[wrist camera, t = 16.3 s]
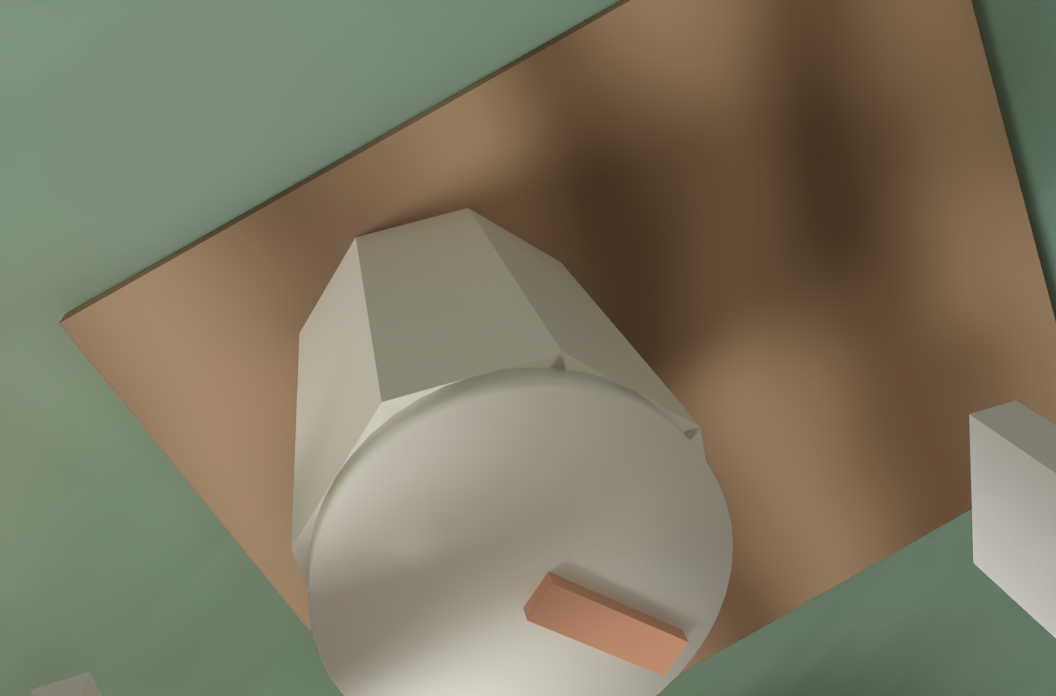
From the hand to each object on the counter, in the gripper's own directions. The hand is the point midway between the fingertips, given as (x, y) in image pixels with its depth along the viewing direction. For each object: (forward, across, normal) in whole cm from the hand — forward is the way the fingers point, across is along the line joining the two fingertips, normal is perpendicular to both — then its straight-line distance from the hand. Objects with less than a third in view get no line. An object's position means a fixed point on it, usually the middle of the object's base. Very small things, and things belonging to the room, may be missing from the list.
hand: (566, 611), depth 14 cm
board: (+11, +4, -2) cm, 12 cm away
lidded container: (+10, -1, 0) cm, 10 cm away
